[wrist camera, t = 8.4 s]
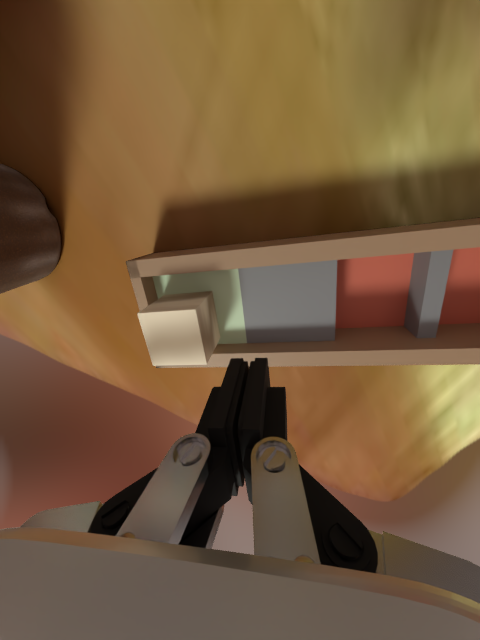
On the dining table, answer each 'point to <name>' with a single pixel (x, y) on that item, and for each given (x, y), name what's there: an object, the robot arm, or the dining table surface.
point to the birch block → (181, 329)
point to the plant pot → (25, 232)
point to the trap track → (334, 295)
